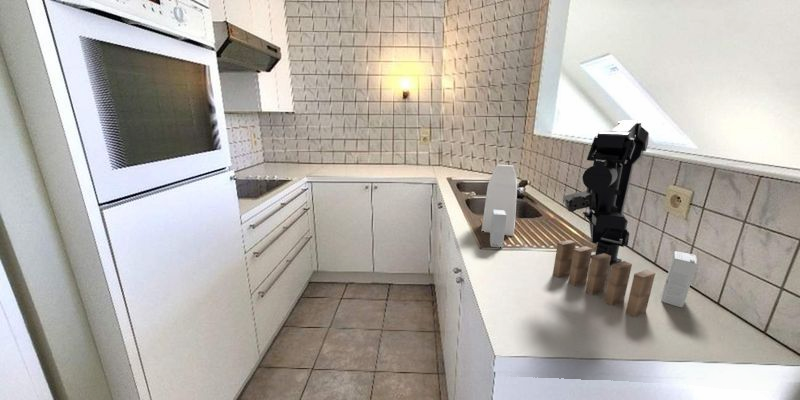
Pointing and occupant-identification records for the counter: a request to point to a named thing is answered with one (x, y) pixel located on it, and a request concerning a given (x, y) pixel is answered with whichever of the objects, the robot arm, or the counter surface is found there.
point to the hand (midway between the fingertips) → (594, 242)
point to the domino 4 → (617, 282)
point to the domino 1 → (563, 258)
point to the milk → (501, 197)
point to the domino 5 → (640, 292)
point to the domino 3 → (598, 273)
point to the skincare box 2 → (679, 278)
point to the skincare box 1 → (497, 228)
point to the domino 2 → (580, 265)
